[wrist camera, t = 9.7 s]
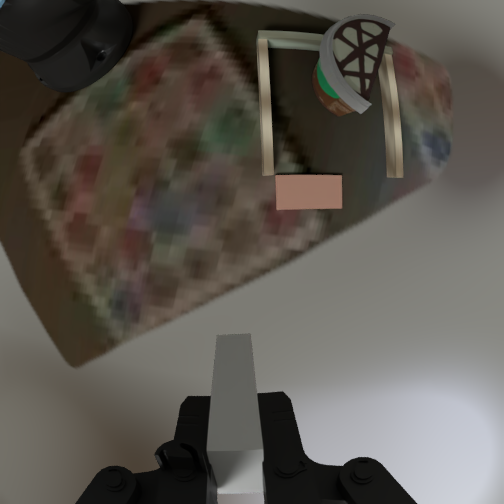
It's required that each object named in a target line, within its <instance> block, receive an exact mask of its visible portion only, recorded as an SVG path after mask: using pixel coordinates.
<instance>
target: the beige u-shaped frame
mask: <svg viewBox="0 0 504 504" xmlns="http://www.w3.org/2000/svg"><path fill="white" fill-rule="evenodd" d="M323 36H324V35H322V34H313V33H302V32H288V31H259V30H258V35H257V41H256V42H257V61H258V81H259V103H260V126H261V150H262V176H265V175H274V163H273V138H272V116H271V96H270V78H269V61H268V48H287V49H303V50H315V51H320V44H321V41H322V38H323ZM392 54H393V51H392V47H388V46H385V49H384V53H383V58H382V62H381V64H380V67H379V70H378V72H379V79H380V87H381V95H382V104H383V114H384V126H385V141H386V162H387V177H392V178H403V155H402V137H401V123H400V113H399V103H398V95H397V87H396V80H395V74H394V67H393V62H392V56H391V55H392Z"/></svg>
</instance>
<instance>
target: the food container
mask: <svg viewBox="0 0 504 504" xmlns="http://www.w3.org/2000/svg"><path fill="white" fill-rule="evenodd" d="M394 25H395V23H393V22H391V21H389V20H387V19H384V18H382V17H378V16H374V15H365V14H364V15H355V16H350V17H347V18H344V19H342V20H340V21H339V22H337V23H336V24H334V25H333V26H331V27H330V28H329V29H328V30H327V32H326V33H325V34H324V36H323V38H322V41H321V44H320V58H319V60H318V62H317V64H316V66H315V68H314V70H313V73H312V85H313V89H314V92H315V94H316V96H317V98H318V99H319V101H320V102H321V103H322V105H323V106H324V107H325V108H326V109H327V110H329V111H330V112H331V113H333V114H335V115H336V116H338V117H339V116H342V115H345V114H348V113H350V112H353V111H357V112H359V113H363V112H364V111H365V110H366V109H368V106H370V105H372V104H371V103H369V102H368V100H369V98H370V93H371V90H372V87H373V84H374V81H375V78H376V75H377V72H378V70H379V67H380V64H381V62H382V58H383V53H384V49H385V45H386V41H387V38H388V34H389V31H390V29H391V28H392V27H393V26H394Z"/></svg>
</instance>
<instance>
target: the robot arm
mask: <svg viewBox="0 0 504 504" xmlns="http://www.w3.org/2000/svg"><path fill="white" fill-rule="evenodd" d="M132 30H133V22H132V18H131V15H130V13H129V12H128V10H127V9H126V7H125V6H124V5H123V4H122V3H121V2H120V1H119V0H0V51H3V52H5V53H8V54H10V55H12V56H15V57H17V58H19V59H21V60H24V61H26V62H27V63H28V65H29V66H30V68H31V69H32V70H33V71H34V72H35V75H36V77H37V78H38V80H39V81H40V82H41V83H42V84H43V85H45V86H47V87H49V88H51V89H53V90H56V91H59V92H72V91H77V90H80V89H82V88H85V87H87V86H89V85H91V84H92V83H94V82H96V81H97V80H99V79H100V78H101V77H103V76H104V75H105V74H106V73H107V72H108V71H109V70H110V69H111V68H112V67H113V66H114V65H115V64H116V63H117V62H118V60H119V59H120V58H121V56H122V55H123V53H124V52H125V50H126V48H127V46H128V44H129V42H130V39H131V35H132ZM155 457H156V460H157V462H158V464H159V466H160V468H159V469H157V470H154V471H149V472H142V473H134V474H133V473H132V472H131V471H130V470H128V469H126V468H125V467H120V466H109V467H106V468H104V469H102V470H101V471H100V472H98V473H97V474H96V476H95V477H94V479H93V480H92V481H91V483H90V484H89V485H88V487H87V488H86V490H85V491H84V492H83V494H82V495H81V496H80V498H79V499H78V501H77V502H76V503H75V504H218V502H217V491H218V494H239V493H240V494H241V493H261V492H264V500H265V501H264V504H417V503H416V502H415V501H414V500H413V498H411V496H410V495H409V494H408V493H407V492H406V491H405V490H404V489H403V487H402V486H401V485H400V484H399V483H398V482H397V481H396V480H395V479H394V478H393V476H392V475H391V474H390V473H389V472H388V471H387V470H386V468H385V467H384V466H383V465H382V464H381V463H379V462H378V461H377V460H375V459H372V458H369V457H358V458H355V459H351V460H350V461H348V462H347V463H345V464H344V465H343V466H333V465H323V464H319V463H316V462H314V461H312V460H311V459H309V458H308V456H307V455H306V454H305V453H304V450H303V447H302V442H301V438H300V434H299V431H298V427H297V422H296V420H295V415H294V412H293V407H292V403H291V400H290V398H289V397H288V396H287V395H286V394H285V393H284V392H271V393H257V389H256V380H255V371H254V362H253V353H252V343H251V334H232V335H217V341H216V350H215V360H214V370H213V380H212V391H211V396H188V397H187V398H186V399H185V401H184V402H183V403H182V404H181V406H180V411H179V417H178V421H177V426H176V432H175V436H174V440H171V441H169V442H166V443H164V444H162V445H161V446H160V447H159V448H158V449H157V451H156V452H155Z"/></svg>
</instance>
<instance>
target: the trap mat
mask: <svg viewBox="0 0 504 504" xmlns="http://www.w3.org/2000/svg"><path fill="white" fill-rule="evenodd" d="M275 177H276V210H286V209H332V208H342V175H275Z"/></svg>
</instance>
